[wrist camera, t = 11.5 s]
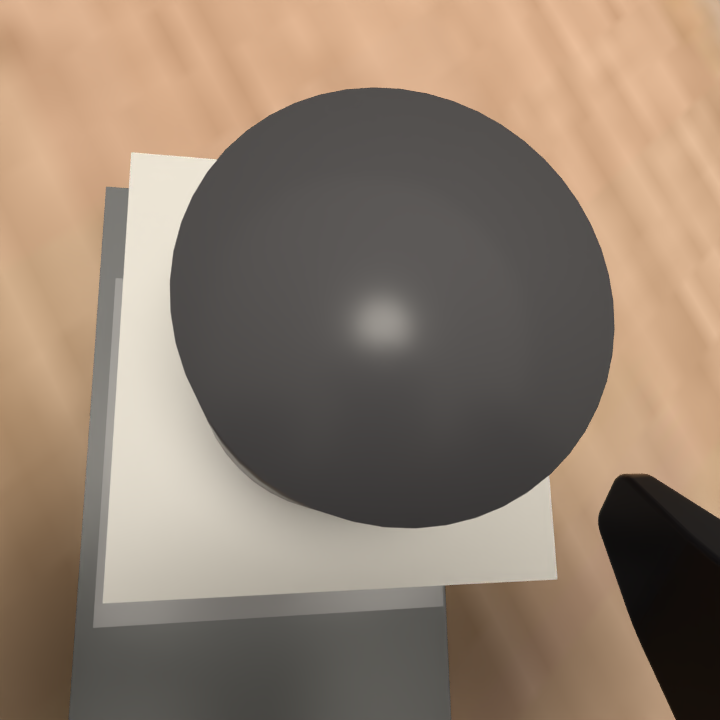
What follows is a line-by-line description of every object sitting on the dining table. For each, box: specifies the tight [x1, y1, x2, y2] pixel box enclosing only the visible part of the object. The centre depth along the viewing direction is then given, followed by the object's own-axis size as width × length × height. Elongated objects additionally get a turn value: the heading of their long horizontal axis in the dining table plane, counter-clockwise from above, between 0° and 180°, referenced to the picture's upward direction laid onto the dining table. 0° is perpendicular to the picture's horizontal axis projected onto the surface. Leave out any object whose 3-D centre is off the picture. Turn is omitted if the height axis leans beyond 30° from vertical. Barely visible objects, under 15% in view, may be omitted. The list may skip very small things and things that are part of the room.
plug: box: [103, 88, 614, 603], centre depth 9 cm, size 4×4×13 cm
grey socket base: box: [69, 187, 451, 720], centre depth 15 cm, size 14×9×4 cm, turn 1°
